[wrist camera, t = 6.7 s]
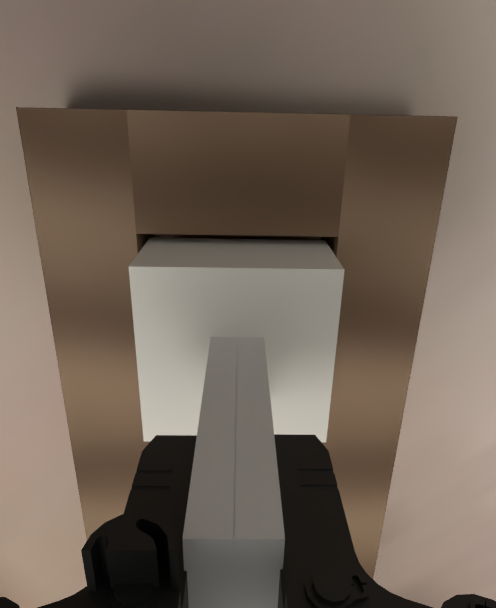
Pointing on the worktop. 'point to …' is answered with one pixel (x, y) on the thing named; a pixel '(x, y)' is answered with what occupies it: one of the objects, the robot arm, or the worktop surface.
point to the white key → (235, 325)
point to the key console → (235, 225)
